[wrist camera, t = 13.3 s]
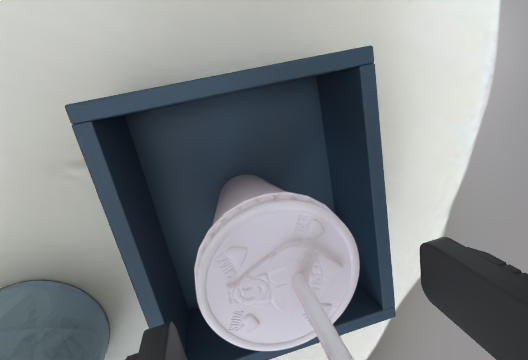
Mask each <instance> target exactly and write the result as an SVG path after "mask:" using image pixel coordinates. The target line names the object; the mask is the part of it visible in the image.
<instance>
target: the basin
mask: <svg viewBox="0 0 528 360" xmlns="http://www.w3.org/2000/svg"><path fill="white" fill-rule="evenodd" d="M373 62H374V56H373V47H372V46H365V47H360V48H355V49H350V50H345V51H340V52H335V53H330V54H324V55H319V56H314V57H309V58H304V59H299V60H294V61H288V62H283V63H278V64H273V65H268V66H263V67H258V68H253V69H247V70H242V71H237V72H232V73H227V74H222V75H217V76H211V77H206V78H201V79H196V80H191V81H186V82H181V83H176V84H170V85H165V86H160V87H155V88H150V89H145V90H140V91H134V92H129V93H124V94H119V95H114V96H109V97H104V98H98V99H93V100H88V101H83V102H78V103H73V104H68V105H66V106H65V109H66V111H67V114H68V116H69V119H70V122H71V123H72V124H74V125H72V128H73V131H74V133H75V136H76V138H77V141H78V144H79V146H80V149H81V152H82V154H83V157H84V159H85V162H86V165H87V167H88V170H89V172H90V175H91V178H92V180H93V183H94V185H95V188H96V191H97V193H98V196H99V199H100V201H101V204H102V206H103V209H104V212H105V214H106V217H107V219H108V222H109V225H110V227H111V230H112V232H113V235H114V238H115V240H116V243H117V246H118V248H119V251H120V253H121V256H122V259H123V261H124V264H125V266H126V269H127V272H128V274H129V277H130V279H131V282H132V285H133V287H134V290H135V293H136V295H137V298H138V300H139V303H140V306H141V308H142V311H143V313H144V316H145V319H146V321H147V324H148V326H149V329H150V328H154V327H157V326H160V325H163V324H166V323H169V322H173V323H174V325H175V327H176V330H177V332H178V335H179V338H180V341H181V343H182V346H183V349H184V351H185V354H186V357H187V360H269V359H272V358H275V357H278V356H281V355H284V354H287V353H290V352H293V351H296V350H299V349H302V348H305V347H307V346H310V345H313V344H316V343H319V342H320V341H319V339H318V337H317V336H316V337H315V338H313V339H311V340H309V341H308V342H306V343H303V344H300V345H298V346H295V347H292V348H288V349H283V350H278V351H256V350H250V349H245V348H242V347H239V346H236V345H234V344H232V343H230V342H228V341H226V340H225V339H223V338H222V337H220V336H219V335H218V334H217V333H216V332H215V331H214V330H213V329H212V328H211V327H210V326H209V325H208V323H207V322H206V320H205V319H204V317H203V315H202V313H201V311H200V308H199V305H198V302H197V296H196V287H195V274H194V267H195V263H196V258H197V254H198V249H199V247H200V245H201V243H202V241H203V240H204V238H205V236H206V234H207V232H208V230H209V229H210V228H211V227H212V225H213V221H214V216H215V212H216V208H217V204H218V199H219V195H220V192H221V190H222V188H223V186H224V185H225V184H226V183H227V182H228V181H229V180H230V179H232V178H234V177H236V176H239V175H243V174H251V175H255V176H258V177H260V178H262V179H263V180H265V181H267V182H269V183H271V184H273V185H274V186H276V187H278V188H280V189H282V190H284V191H285V192H291V193H296V194H301V195H306V196H309V197H311V198H313V199H315V200H317V201H319V202H321V203H323V204H325V205H326V206H327V207H328V208H329V209H330V210H331V211H332V212H333V213H334V214H335V215H336V216H337V217H338V218H339V219H340V220H341V221H342V222H343V223H344V224H345V225H346V227H347V228H348V229H349V231H350V232H351V234H352V236H353V238H354V240H355V243H356V245H357V249H358V253H359V261H360V269H359V277H358V282H357V286H356V289H355V292H354V294H353V296H352V298H351V300H350V302H349V304H348V306H347V307H346V309H345V310H344V312H343V313H342V314H341V316H340V317H339V318H338V319H337V320H336V321H335V322H334V323H333V326H334V327H335V329H336V331H337V332H338V334H339V336H340V335H343V334H346V333H349V332H352V331H354V330H357V329H360V328H363V327H366V326H369V325H372V324H375V323H378V322H381V321H384V320H387V319H390V318H392V317H395V307H394V306H395V301H394V289H393V277H392V265H391V254H390V242H389V230H388V218H387V206H386V194H385V182H384V170H383V158H382V146H381V135H380V123H379V111H378V99H377V87H376V75H375V64H374V63H373Z"/></svg>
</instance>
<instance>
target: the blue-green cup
mask: <svg viewBox="0 0 528 360" xmlns="http://www.w3.org/2000/svg"><path fill="white" fill-rule="evenodd" d="M108 342H109V325H108V321H107V318H106V316H105V314H104V312H103V310H102V308H101V307H100V306H99V304H98V303H97V302H96V301H95V300H94V299H93V298H92V297H90V296H89V295H88V294H86V293H85V292H83V291H81V290H79V289H77V288H75V287H73V286H70V285H67V284H64V283H59V282H54V281H47V280H46V281H27V282H21V283H16V284H14V285H11V286H8V287H5V288H3V289H0V360H103V359H104V356H105V353H106V350H107V346H108Z"/></svg>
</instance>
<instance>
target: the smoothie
mask: <svg viewBox="0 0 528 360" xmlns="http://www.w3.org/2000/svg"><path fill="white" fill-rule="evenodd" d="M359 269H360V261H359V253H358V249H357V245H356V243H355V240H354V238H353V236H352V234H351V232H350V231H349V229H348V228H347V227H346V225H345V224H344V223H343V222H342V221H341V220H340V219H339V218H338V217H337V216H336V215H335V214H334V213H333V212H332V211H331V210H330V209H329V208H328V207H327V206H326V205H325V204H323V203H321V202H319V201H317V200H315V199H313V198H311V197H309V196H306V195H301V194H296V193H291V192H285V191H284V190H282V189H280V188H278V187H276V186H274V185H273V184H271V183H269V182H267V181H265V180H263V179H262V178H260V177H258V176H255V175H251V174H243V175H239V176H236V177H234V178H232V179H230V180H229V181H228V182H227V183H226V184H225V185H224V186H223V188H222V190H221V192H220V195H219V199H218V204H217V208H216V212H215V216H214V221H213V225H212V227H211V228H210V229H209V230H208V232H207V234H206V236H205V238H204V240H203V241H202V243H201V245H200V247H199V249H198V254H197V258H196V263H195V267H194V274H195V287H196V296H197V302H198V305H199V308H200V311H201V313H202V315H203V317H204V319H205V320H206V322H207V323H208V325H209V326H210V327H211V328H212V329H213V330H214V331H215V332H216V333H217V334H218V335H219V336H220V337H222V338H223V339H225V340H226V341H228V342H230V343H232V344H234V345H236V346H239V347H242V348H245V349H250V350H256V351H278V350H283V349H288V348H292V347H295V346H298V345H300V344H303V343H306V342H308V341H309V340H311V339H313V338H315V337H316V336H317V337H318V339H319V341H320V343H321V345H322V347H323V349H324V351H325V353H326V355H327V357H328V359H329V360H354V359H353V358H352V356H351V354H350V353H349V351H348V349H347V348H346V346H345V344H344V343H343V341H342V339H341V337H340V336H339V334H338V332H337V331H336V329H335V327H334V326H333V323H334V322H335V321H336V320H337V319H338V318H339V317H340V316H341V314H342V313H343V312H344V310H345V309H346V307H347V306H348V304H349V302H350V300H351V298H352V296H353V294H354V292H355V289H356V286H357V282H358V277H359Z"/></svg>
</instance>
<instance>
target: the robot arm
mask: <svg viewBox="0 0 528 360" xmlns="http://www.w3.org/2000/svg"><path fill="white" fill-rule="evenodd" d="M420 268H421V284H422V288H423V291H424V293H425V295H426V296H427V298H428V299H429V301H430V302H431V303H432V304H433V305H435V306H436V307H437V308H438V309H439V310H440V311H441V312H443V313H444V314H445V315H446V316H447V317H448V318H449V319H451V320H452V321H453V322H454V323H455V324H456V325H457V326H459V327H460V328H461V329H462V330H463V331H464V332H465V333H467V334H468V335H469V336H470V337H471V338H472V339H474V340H475V341H476V342H477V343H478V344H479V345H480V346H481V347H483V348H484V349H485V350H486V351H487V352H488V353H490V354H491V355H492V356H493V357H494V358H495V359H496V360H528V274H526V273H522V272H521V270H519V269H517V268H515V267H513V266H511V265H507V264H506V262H504V261H502V260H500V259H498V258H496V257H494V256H492V255H491V254H489V253H486V252H482V251H479V250H476V249H472V248H469V247H465V246H463V245H461V244H459V243H457V242H456V241H454V240H452V239H450V238H448V237H442V238H438V239H435V240H432V241H429V242H426V243H423V244H422V245H421V246H420ZM125 360H187V357H186V354H185V351H184V349H183V346H182V343H181V341H180V338H179V335H178V332H177V330H176V327H175V325H174V323H173V322H169V323H166V324H163V325H160V326H157V327H154V328H150V329H147V330H145V331H144V333H143V337H142V341H141V345H140V349H139V353H136V354H133V355H130V356H127V358H126V359H125Z"/></svg>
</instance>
